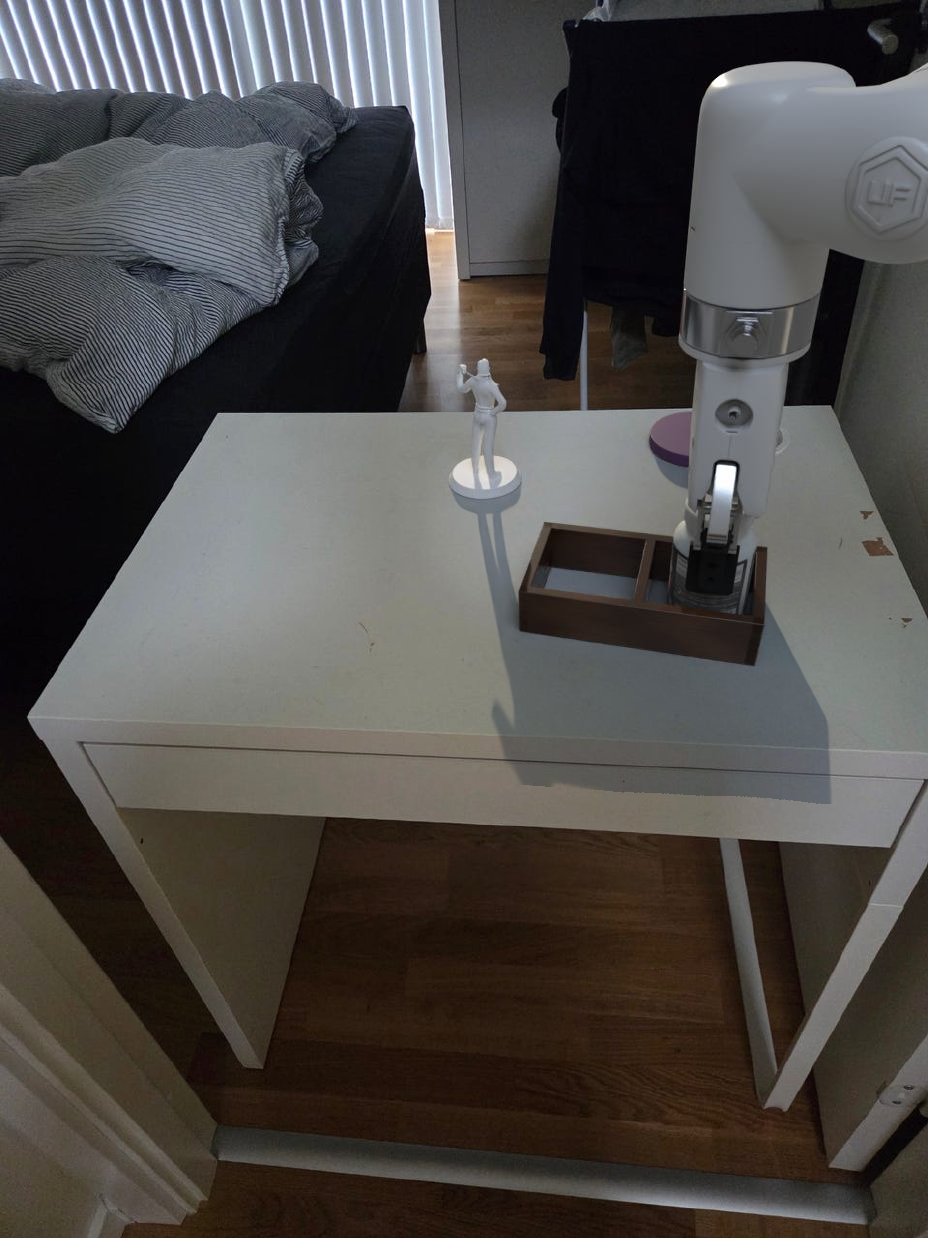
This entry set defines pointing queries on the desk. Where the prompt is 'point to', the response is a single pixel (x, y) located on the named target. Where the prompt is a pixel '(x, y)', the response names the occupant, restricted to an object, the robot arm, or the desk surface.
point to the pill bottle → (680, 561)
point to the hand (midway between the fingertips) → (711, 561)
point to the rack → (635, 617)
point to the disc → (672, 438)
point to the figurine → (485, 471)
